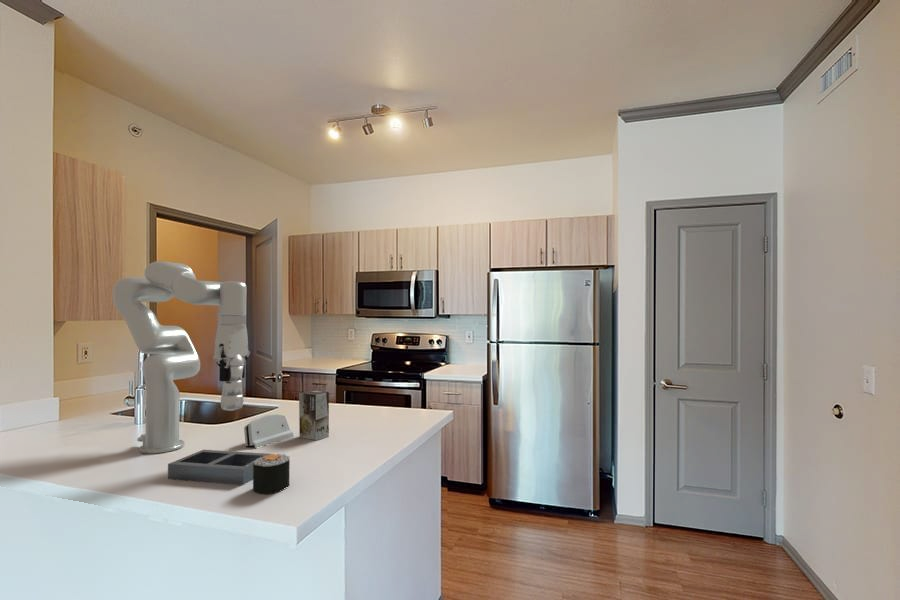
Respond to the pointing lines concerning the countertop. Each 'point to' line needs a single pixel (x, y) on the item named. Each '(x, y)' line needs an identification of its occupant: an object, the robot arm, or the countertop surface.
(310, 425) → the coffee box
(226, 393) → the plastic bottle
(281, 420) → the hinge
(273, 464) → the sushi
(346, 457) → the countertop surface
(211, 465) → the tray
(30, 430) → the countertop surface
